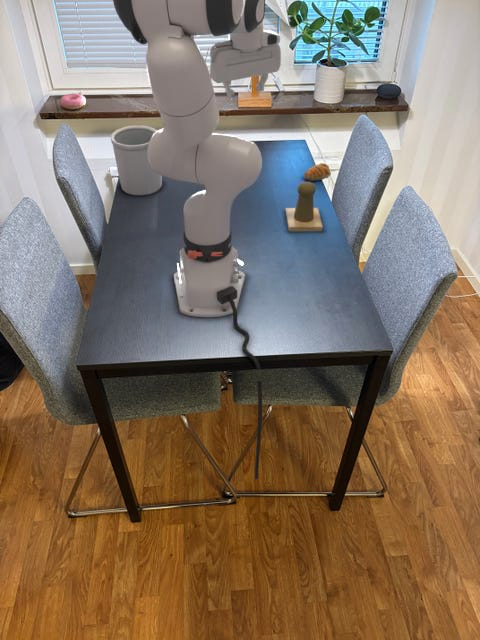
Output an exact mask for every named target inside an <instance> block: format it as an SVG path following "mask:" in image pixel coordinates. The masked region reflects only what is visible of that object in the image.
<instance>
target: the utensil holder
mask: <svg viewBox="0 0 480 640" xmlns="http://www.w3.org/2000/svg"><path fill="white" fill-rule="evenodd" d="M157 131H158V130H157V129H156V128H154V127H151V126H149V125H148V126H147V125H140V124H139V125H128V126H123V127H121V128H120V127H119V128H118V129H116V130H115V131H113V132H112V133H111V134H110V142H111V144H112V148H113V153H114V158H115V164H116V168H117V174H118V178H119V184H120V186H121V187H120V188H121V190H122V191H123V192H124V193H126V194H128V195H132V196H147V195H151V194H155V193H156V192H158V191H160V189H161V188H162V186H163V176H162V175H160V174H157V173H155V172H154V171H153V169H152V168H151V166H150V164H149V161H148V156H147V149H148V144H149V142H150V139H151V138H152V136H153V135H154V134H155V133H156V132H157Z"/></svg>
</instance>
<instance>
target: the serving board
mask: <svg viewBox="0 0 480 640" xmlns="http://www.w3.org/2000/svg"><path fill="white" fill-rule="evenodd" d="M295 209H296V207H285V216H286V217H285V218H286V223H287V224H286V225H287V230H288V232H296V233H297V232H300V233H301V232H323V228H324V227H323V223H322V218H321V214H320V210H319V207H313V212H314V219H313V220H312V221H310V222H299V221H297V220H295V218H294V213H295Z"/></svg>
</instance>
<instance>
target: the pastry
mask: <svg viewBox="0 0 480 640" xmlns="http://www.w3.org/2000/svg"><path fill="white" fill-rule="evenodd" d="M331 175H332V172H331V169H330V166H329V165H328V164H327V163H322V162H320V163H318V164H315V165H311V167H309V168H308V169H307V170H306V171H305V172H304V176H303V177H304V178H303V179H304V180H307V181H308V182H316V181H319V182H320V181H323V180H325V179H328V178H329V177H330V176H331Z"/></svg>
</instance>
